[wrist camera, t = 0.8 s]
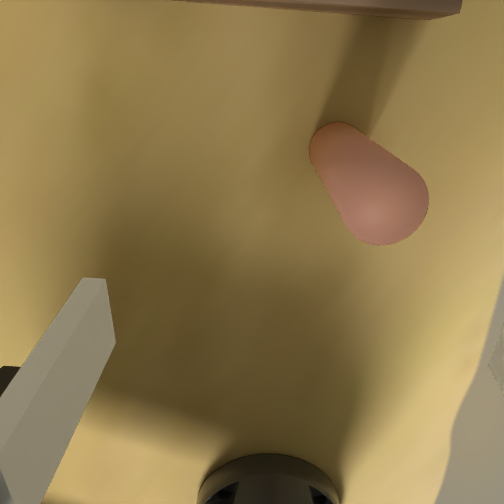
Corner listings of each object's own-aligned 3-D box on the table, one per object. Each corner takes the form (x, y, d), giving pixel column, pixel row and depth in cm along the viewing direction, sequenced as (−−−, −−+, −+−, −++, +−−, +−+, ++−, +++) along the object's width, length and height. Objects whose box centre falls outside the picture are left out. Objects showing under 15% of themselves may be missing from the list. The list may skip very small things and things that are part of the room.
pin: (358, 177, 35) (418, 247, 22) (306, 174, 35) (336, 242, 22) (367, 124, 33) (437, 165, 20) (312, 120, 33) (348, 159, 20)
